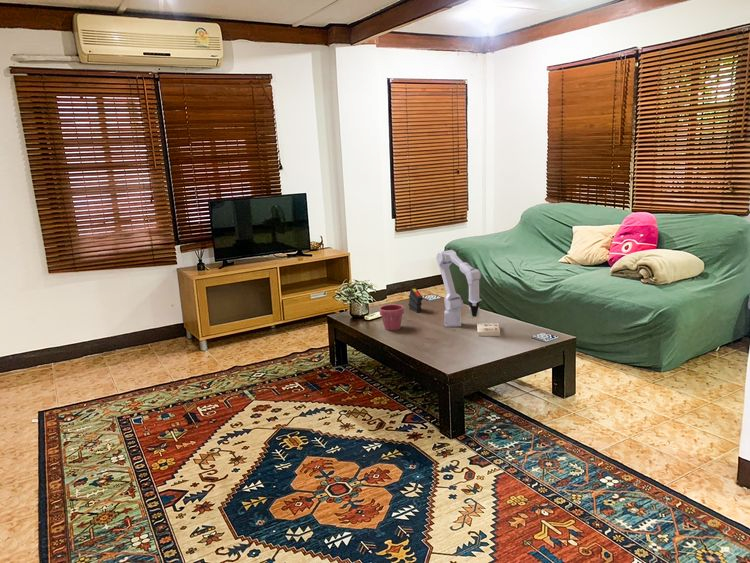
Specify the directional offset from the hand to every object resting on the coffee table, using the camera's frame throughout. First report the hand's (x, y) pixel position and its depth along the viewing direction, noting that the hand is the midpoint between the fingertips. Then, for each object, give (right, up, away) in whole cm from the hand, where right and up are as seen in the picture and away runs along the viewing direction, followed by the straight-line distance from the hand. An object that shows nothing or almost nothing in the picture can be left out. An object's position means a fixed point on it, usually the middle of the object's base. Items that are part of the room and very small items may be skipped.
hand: (474, 315), depth 316 cm
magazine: (-29, 0, +50) cm, 58 cm away
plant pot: (-45, -9, +18) cm, 49 cm away
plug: (0, -3, +1) cm, 3 cm away
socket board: (+8, -9, +2) cm, 13 cm away
